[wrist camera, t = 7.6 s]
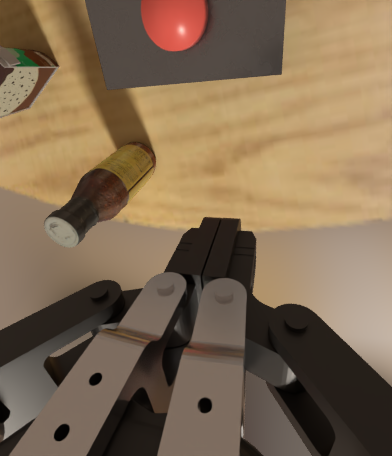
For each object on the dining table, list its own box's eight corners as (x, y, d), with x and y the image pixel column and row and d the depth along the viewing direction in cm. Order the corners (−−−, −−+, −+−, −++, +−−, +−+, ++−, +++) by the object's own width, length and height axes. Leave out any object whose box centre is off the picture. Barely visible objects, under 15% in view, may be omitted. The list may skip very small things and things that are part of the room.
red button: (216, -24, 28) (200, -40, 23) (219, 46, 31) (205, 47, 26) (162, -13, 30) (134, -26, 24) (170, 52, 33) (147, 54, 27)
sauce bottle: (119, 139, 43) (21, 196, 27) (156, 142, 41) (77, 205, 25) (124, 178, 46) (42, 249, 30) (159, 182, 45) (92, 258, 29)
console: (290, -77, 26) (292, -105, 21) (281, 69, 32) (281, 74, 27) (105, -35, 31) (72, -49, 26) (129, 83, 38) (107, 89, 33)
